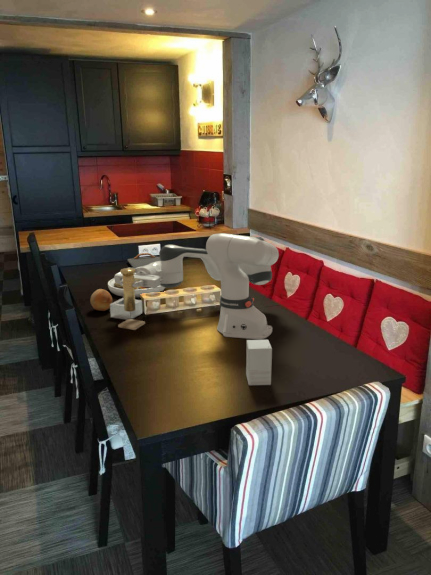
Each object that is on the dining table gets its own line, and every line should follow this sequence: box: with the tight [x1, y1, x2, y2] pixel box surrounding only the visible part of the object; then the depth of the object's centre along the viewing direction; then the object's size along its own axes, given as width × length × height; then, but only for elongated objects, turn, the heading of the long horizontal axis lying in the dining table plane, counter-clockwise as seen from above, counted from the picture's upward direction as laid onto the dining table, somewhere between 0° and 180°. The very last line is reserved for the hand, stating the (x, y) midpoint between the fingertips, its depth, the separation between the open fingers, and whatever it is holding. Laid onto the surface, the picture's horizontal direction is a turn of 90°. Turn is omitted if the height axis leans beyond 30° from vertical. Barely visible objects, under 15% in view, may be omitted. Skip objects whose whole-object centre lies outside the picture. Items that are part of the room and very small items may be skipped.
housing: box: [109, 297, 143, 321], centre depth 214 cm, size 10×10×6 cm
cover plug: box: [119, 267, 136, 311], centre depth 198 cm, size 6×6×17 cm
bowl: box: [107, 278, 166, 299], centre depth 250 cm, size 30×30×8 cm
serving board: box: [126, 252, 160, 267], centre depth 298 cm, size 39×23×6 cm, turn 20°
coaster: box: [117, 318, 146, 331], centre depth 202 cm, size 8×8×1 cm
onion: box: [89, 288, 113, 312], centre depth 219 cm, size 10×10×10 cm
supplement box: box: [245, 339, 273, 386], centre depth 153 cm, size 7×7×13 cm
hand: (127, 284), depth 197 cm, fingers closed on cover plug, 5 cm apart
